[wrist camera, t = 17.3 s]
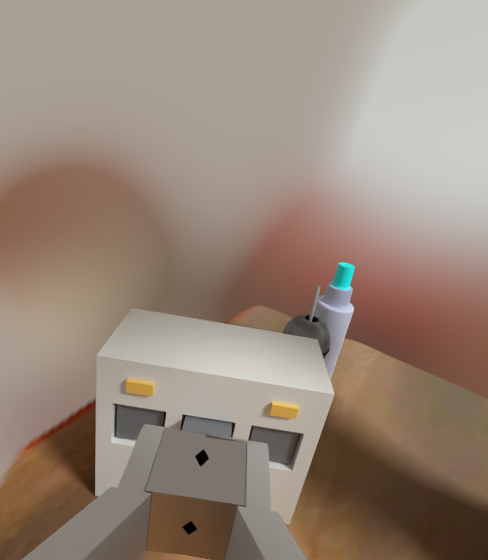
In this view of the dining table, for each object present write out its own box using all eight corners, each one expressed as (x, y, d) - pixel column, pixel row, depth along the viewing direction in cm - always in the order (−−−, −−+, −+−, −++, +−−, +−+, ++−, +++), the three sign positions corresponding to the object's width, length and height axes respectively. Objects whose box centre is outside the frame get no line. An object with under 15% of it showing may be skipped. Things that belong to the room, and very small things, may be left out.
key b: (286, 434, 37) (295, 403, 36) (289, 463, 34) (299, 431, 32) (247, 427, 37) (254, 396, 36) (246, 457, 34) (254, 423, 32)
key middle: (226, 440, 35) (233, 407, 34) (223, 472, 32) (230, 437, 30) (185, 433, 35) (189, 400, 34) (177, 465, 32) (181, 430, 30)
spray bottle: (297, 364, 64) (327, 255, 56) (329, 374, 63) (365, 264, 55) (293, 384, 59) (327, 266, 50) (328, 394, 58) (368, 276, 49)
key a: (169, 415, 37) (173, 383, 35) (160, 443, 34) (164, 409, 32) (129, 409, 37) (131, 376, 35) (116, 436, 33) (117, 402, 32)
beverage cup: (265, 414, 51) (295, 295, 43) (265, 383, 58) (292, 275, 50) (313, 423, 51) (351, 306, 43) (308, 391, 58) (340, 284, 50)
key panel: (283, 454, 45) (317, 339, 38) (289, 528, 36) (335, 397, 30) (125, 429, 44) (131, 307, 38) (93, 499, 36) (94, 358, 29)
